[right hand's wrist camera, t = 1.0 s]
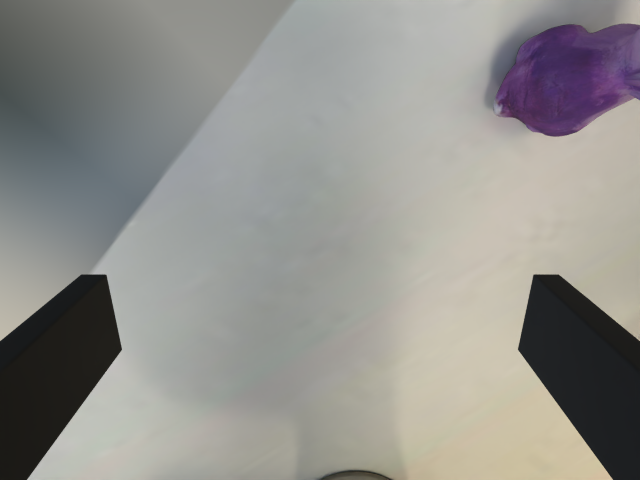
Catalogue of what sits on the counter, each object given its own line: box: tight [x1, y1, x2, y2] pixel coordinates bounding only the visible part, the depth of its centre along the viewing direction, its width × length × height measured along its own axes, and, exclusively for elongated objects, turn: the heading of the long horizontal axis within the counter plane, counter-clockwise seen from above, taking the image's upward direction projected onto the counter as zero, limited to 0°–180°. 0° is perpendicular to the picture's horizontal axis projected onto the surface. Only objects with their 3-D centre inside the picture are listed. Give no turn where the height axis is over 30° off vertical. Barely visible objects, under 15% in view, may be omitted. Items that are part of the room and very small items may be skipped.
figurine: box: [494, 24, 640, 136], centre depth 28 cm, size 9×10×15 cm
